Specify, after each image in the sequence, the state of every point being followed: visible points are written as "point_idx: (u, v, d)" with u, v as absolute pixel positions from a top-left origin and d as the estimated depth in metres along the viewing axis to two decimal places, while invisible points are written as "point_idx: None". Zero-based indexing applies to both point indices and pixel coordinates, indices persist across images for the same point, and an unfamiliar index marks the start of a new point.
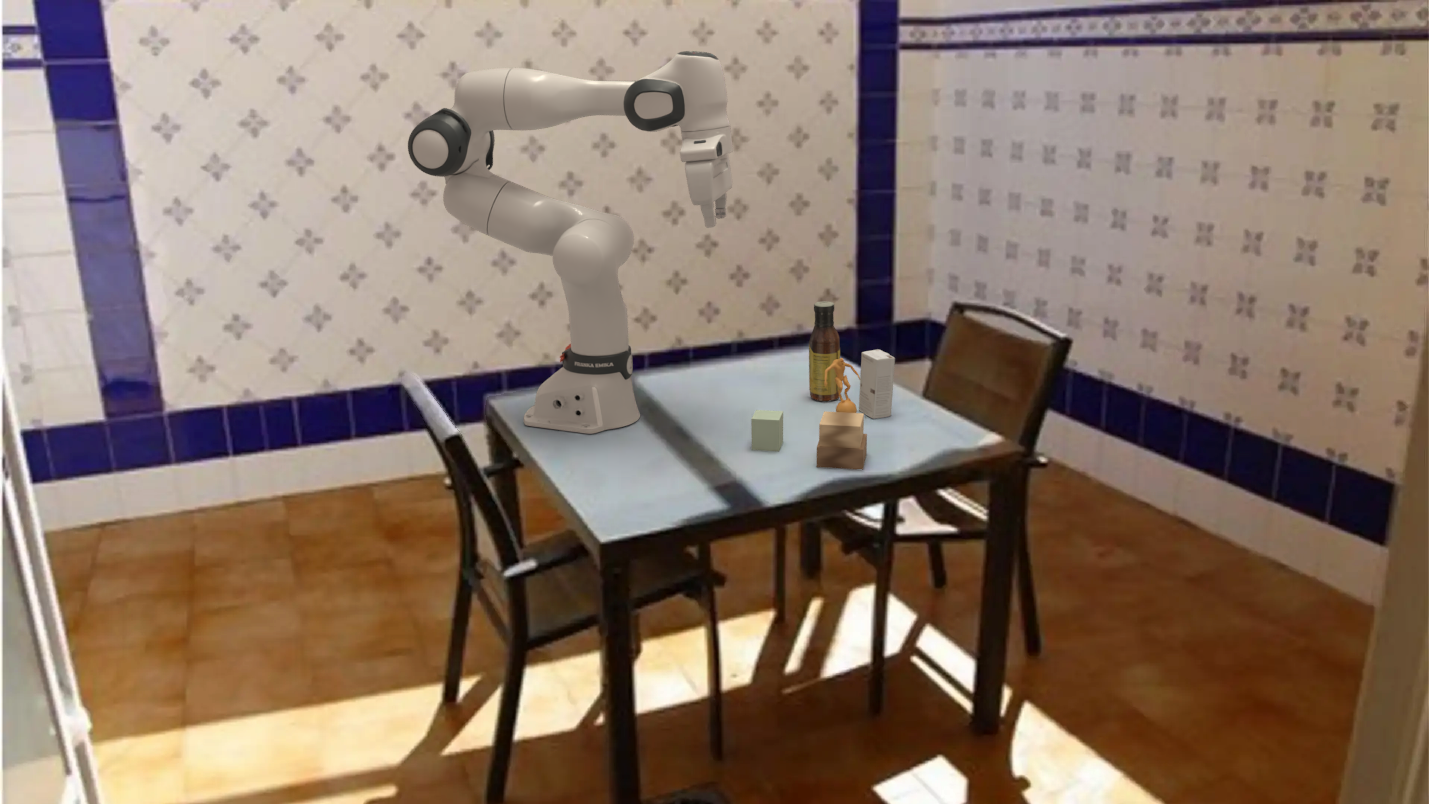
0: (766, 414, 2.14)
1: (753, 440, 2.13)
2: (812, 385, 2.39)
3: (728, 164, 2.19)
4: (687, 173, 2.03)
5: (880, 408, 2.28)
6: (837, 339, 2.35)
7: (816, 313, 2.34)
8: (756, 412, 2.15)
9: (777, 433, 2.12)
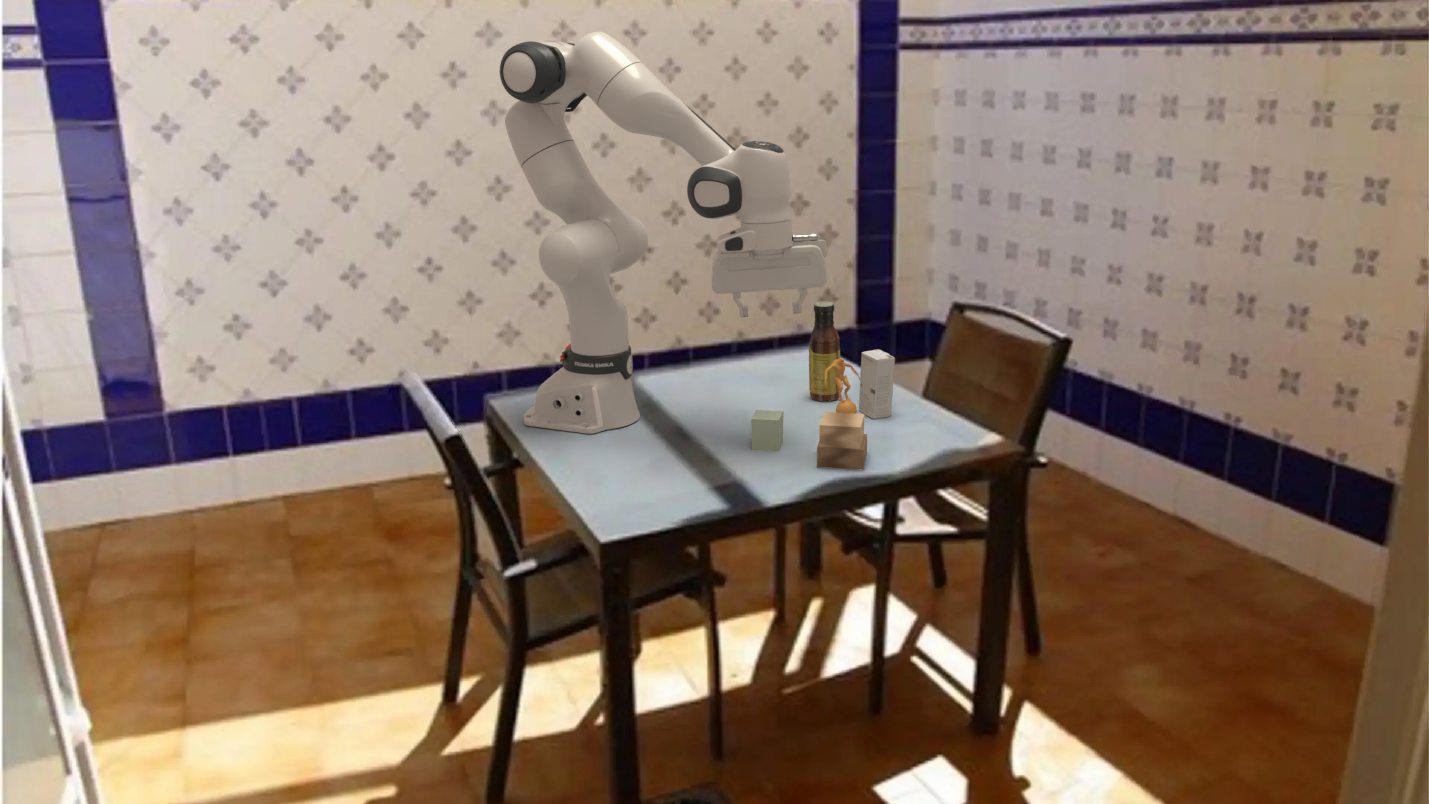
0: (766, 414, 2.14)
1: (753, 440, 2.13)
2: (812, 385, 2.39)
3: (813, 261, 2.06)
4: (713, 259, 2.09)
5: (880, 408, 2.28)
6: (837, 339, 2.35)
7: (816, 313, 2.34)
8: (756, 412, 2.15)
9: (777, 433, 2.12)
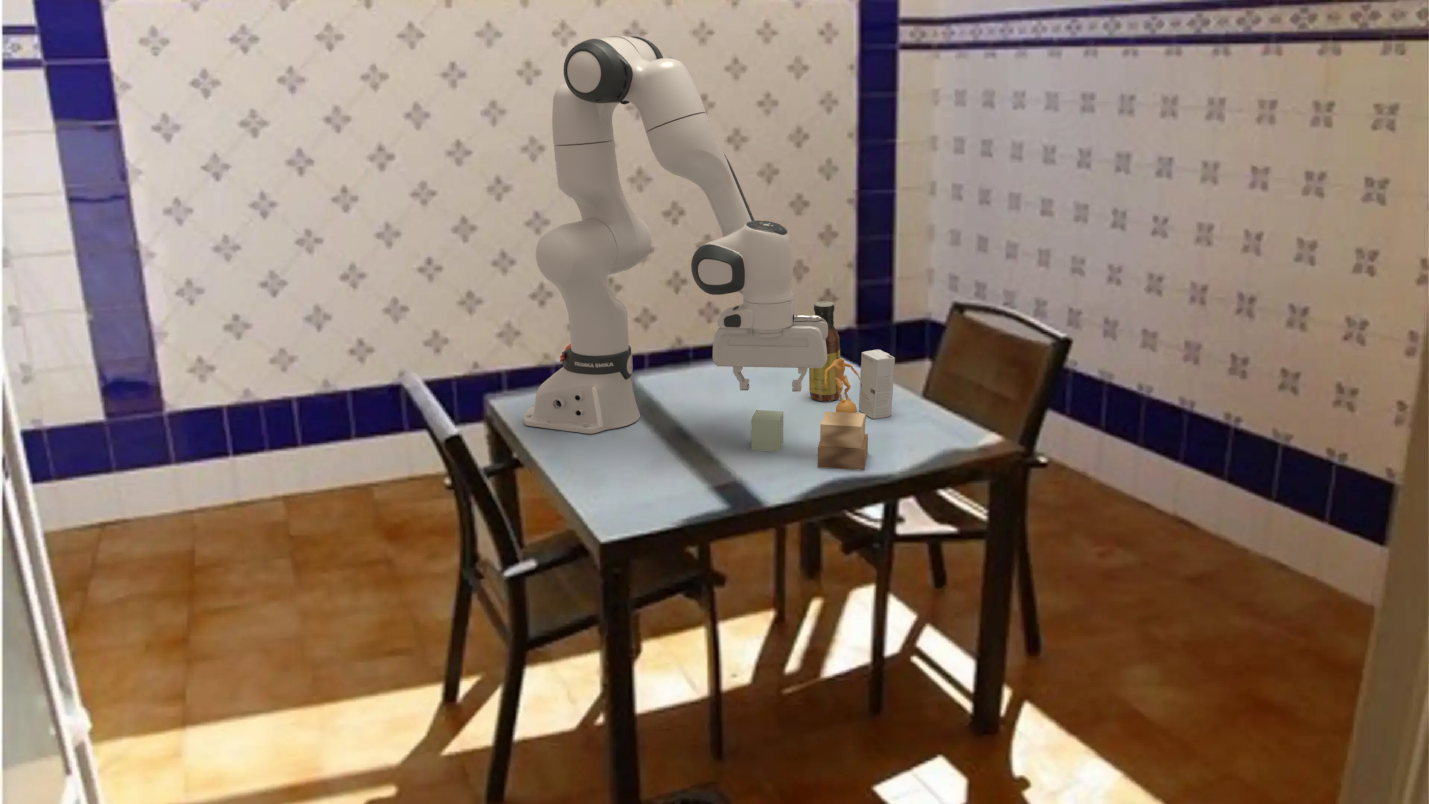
0: (766, 414, 2.14)
1: (753, 440, 2.13)
2: (812, 385, 2.39)
3: (812, 343, 2.06)
4: None
5: (880, 408, 2.28)
6: (837, 339, 2.35)
7: (816, 313, 2.34)
8: (756, 412, 2.15)
9: (777, 433, 2.12)
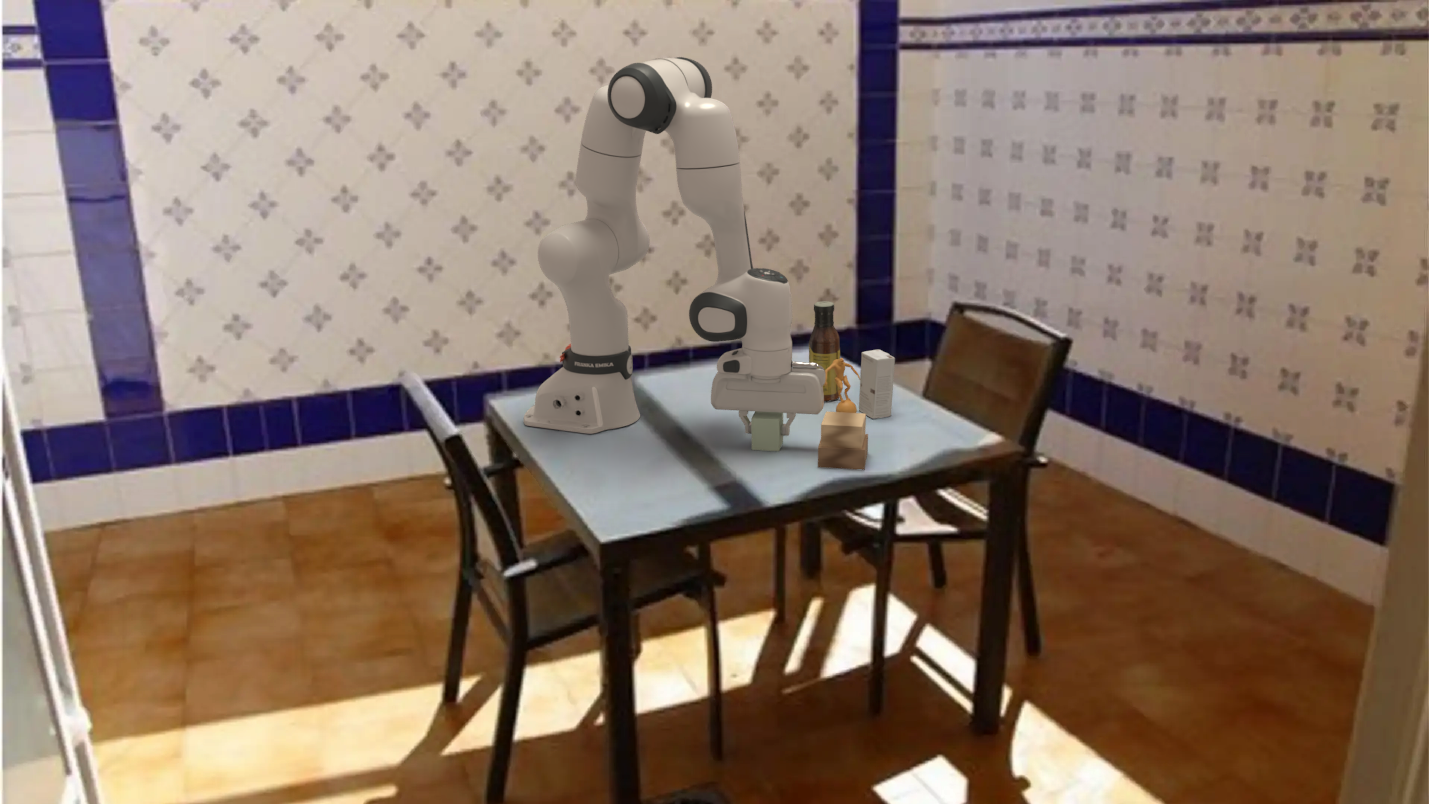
0: (766, 414, 2.14)
1: (753, 440, 2.13)
2: None
3: (809, 390, 2.09)
4: None
5: (880, 408, 2.28)
6: (837, 339, 2.35)
7: (816, 313, 2.34)
8: (756, 412, 2.15)
9: (777, 433, 2.12)
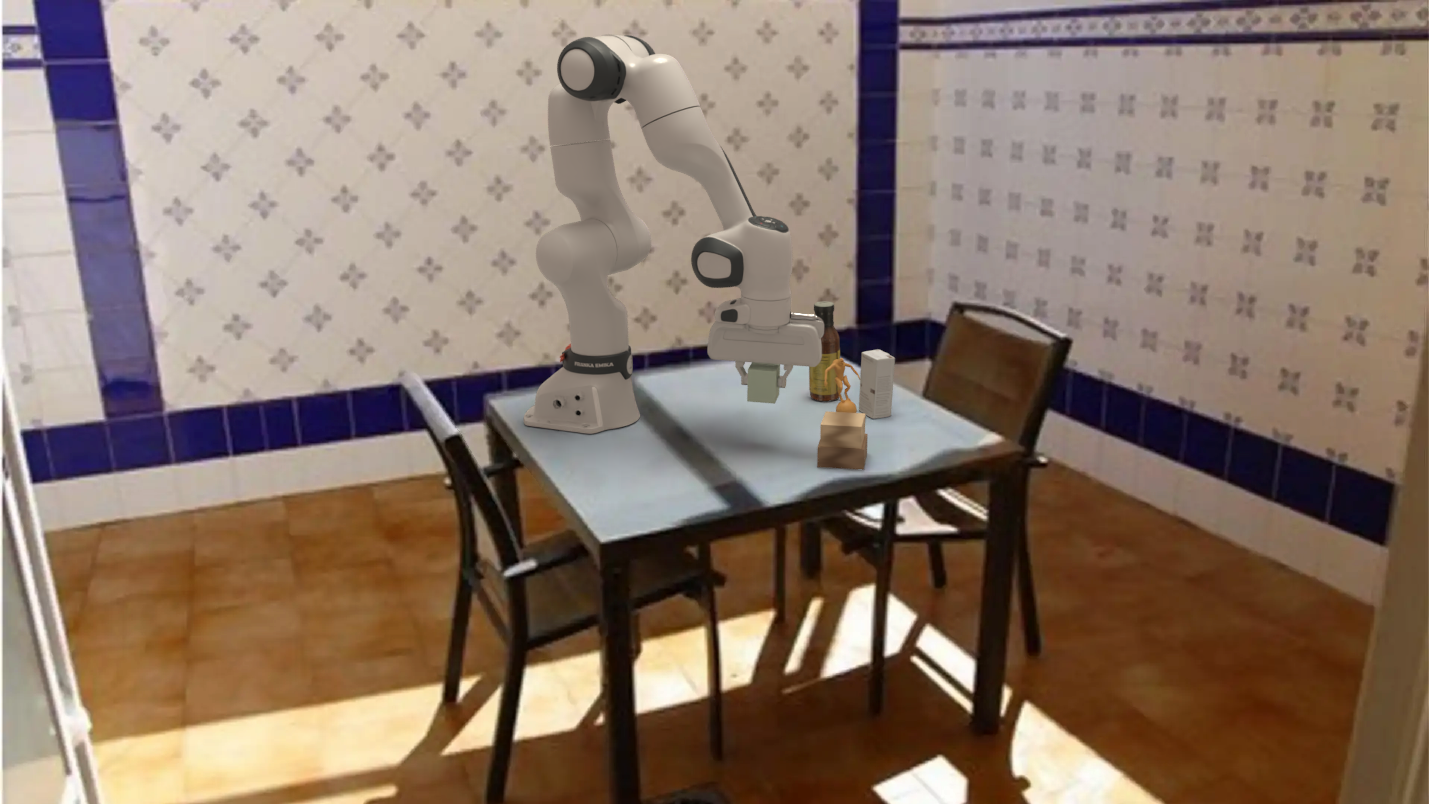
0: (763, 365, 2.11)
1: (749, 391, 2.11)
2: (812, 385, 2.39)
3: (807, 341, 2.06)
4: None
5: (880, 408, 2.28)
6: (837, 339, 2.35)
7: (816, 313, 2.34)
8: (753, 363, 2.13)
9: (773, 384, 2.09)
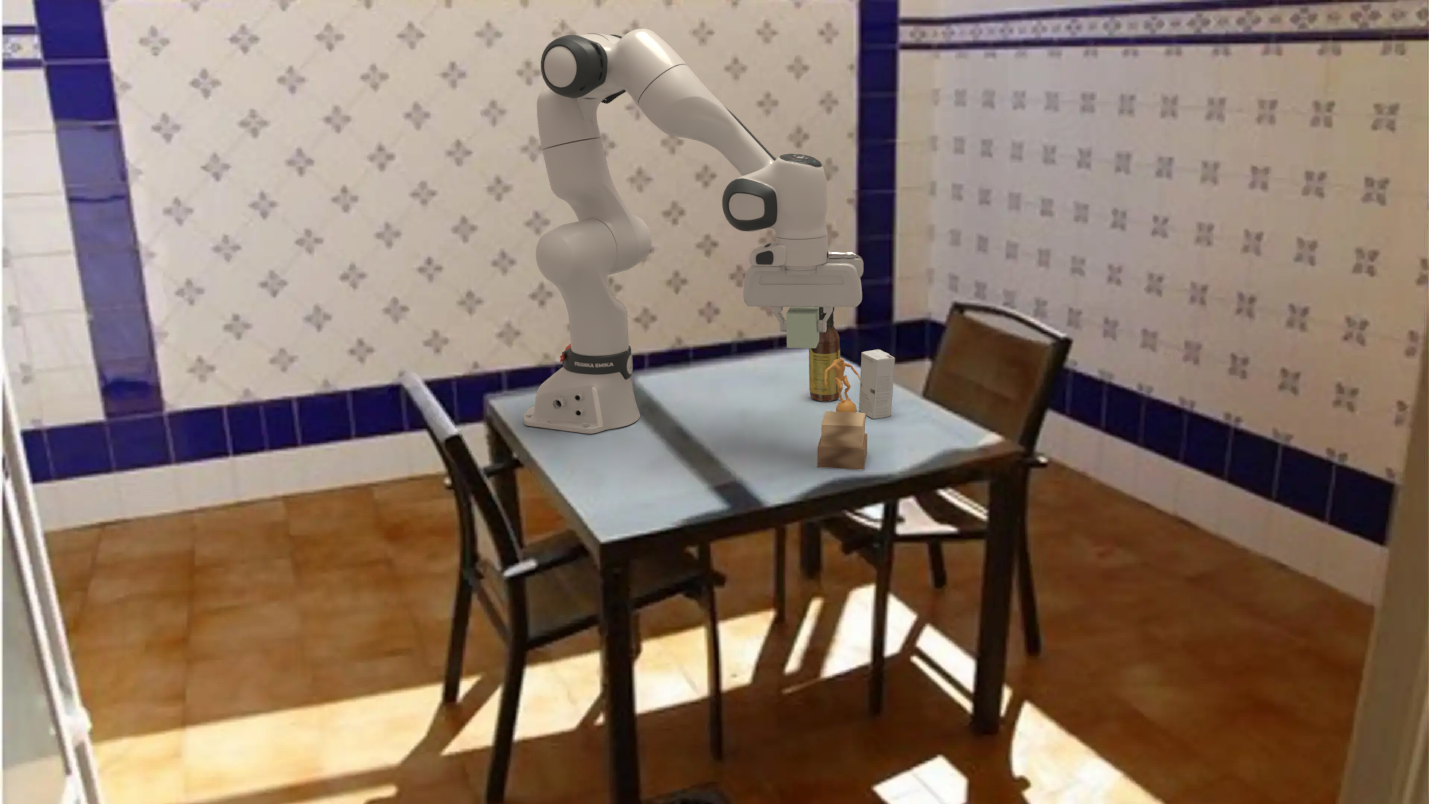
0: (801, 310, 2.04)
1: (788, 337, 2.03)
2: (812, 385, 2.39)
3: (847, 280, 1.99)
4: None
5: (880, 408, 2.28)
6: (837, 339, 2.35)
7: None
8: (790, 308, 2.06)
9: (813, 328, 2.02)
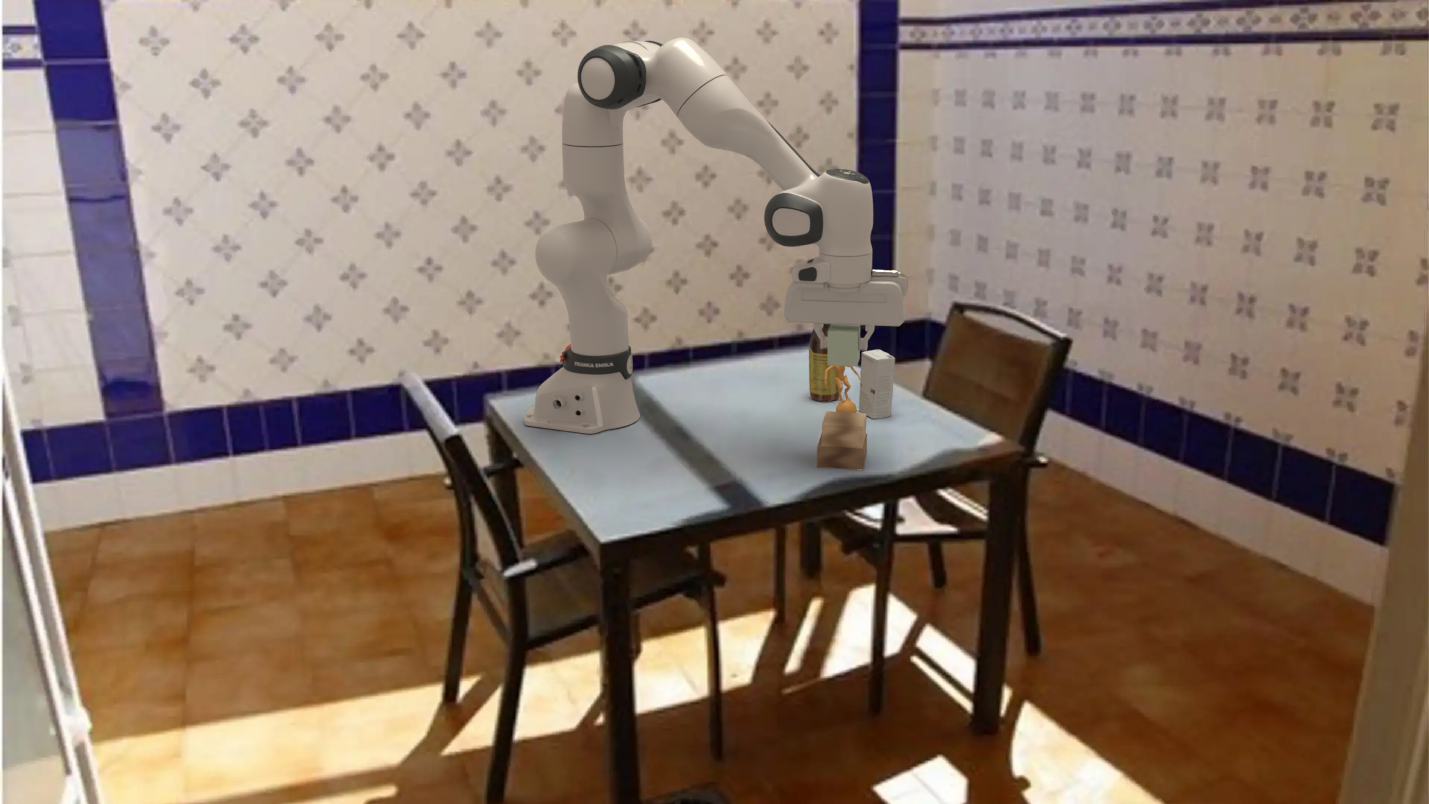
0: (843, 327, 2.01)
1: (829, 354, 2.00)
2: (812, 385, 2.39)
3: (890, 299, 1.96)
4: None
5: (880, 408, 2.28)
6: None
7: None
8: (832, 325, 2.02)
9: (855, 346, 1.99)
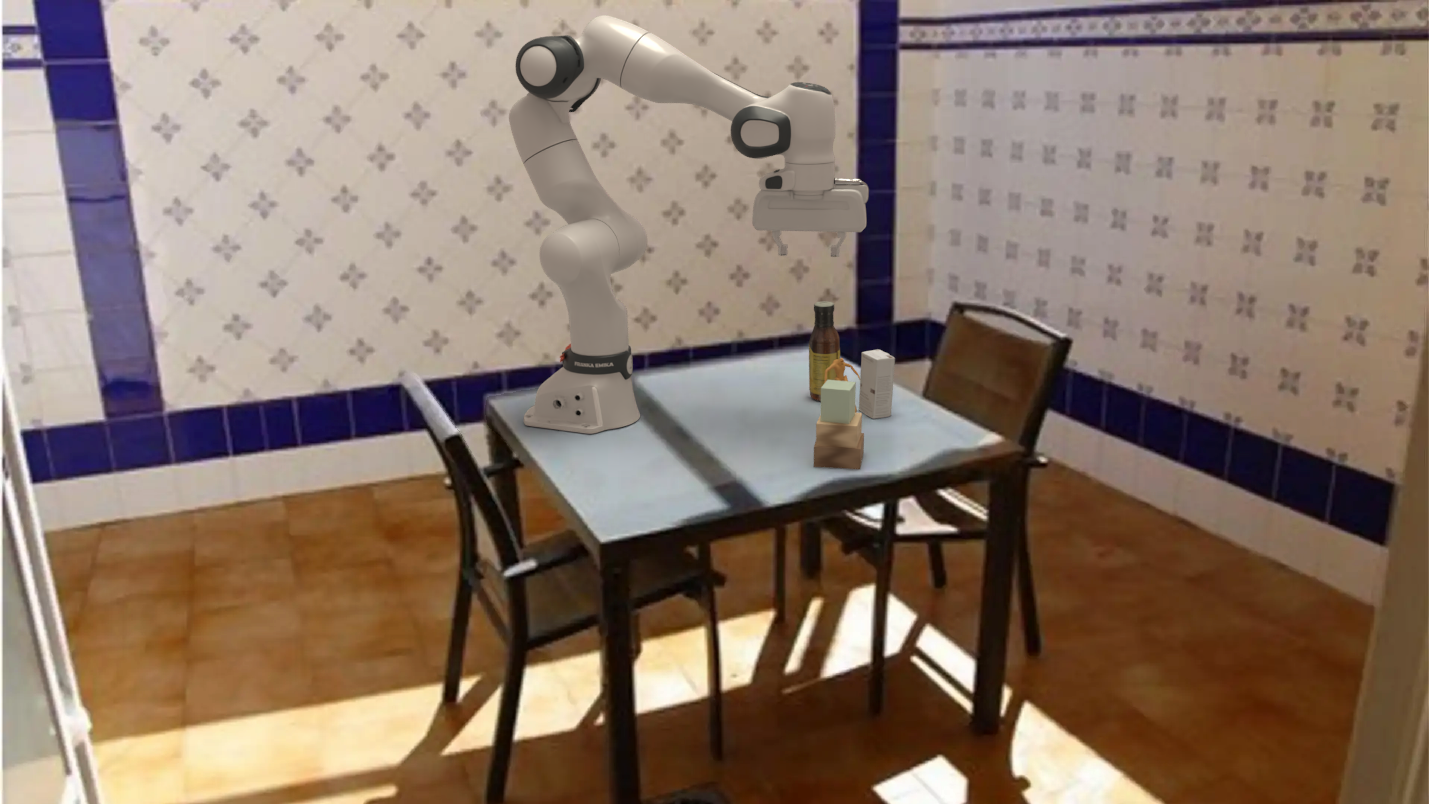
0: (837, 384, 2.04)
1: (822, 410, 2.04)
2: (812, 385, 2.39)
3: (852, 206, 2.07)
4: None
5: (880, 408, 2.28)
6: (837, 339, 2.35)
7: (816, 313, 2.34)
8: (827, 382, 2.06)
9: (847, 404, 2.02)
